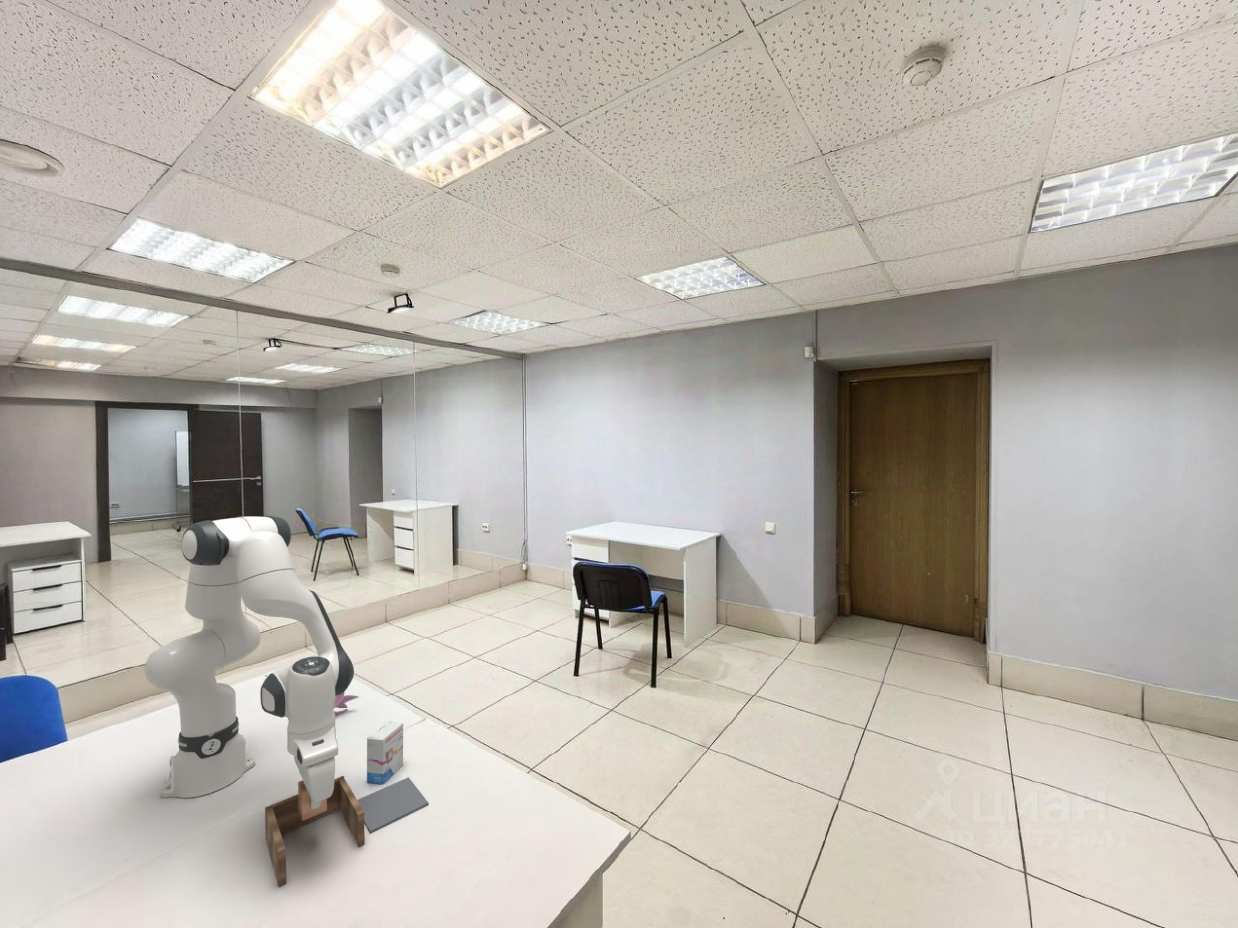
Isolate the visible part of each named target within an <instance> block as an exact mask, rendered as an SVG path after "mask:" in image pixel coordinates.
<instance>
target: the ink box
mask: <svg viewBox="0 0 1238 928" xmlns="http://www.w3.org/2000/svg"><path fill="white" fill-rule="evenodd" d="M403 766H404V723H403V722H398V721H393V720H387V721H385V723H383V724H382V725H380V726H379V727H378V728H377V729H375V730H373V731H372V732H371V733H369V734H368V737H367V738H366V783H372V784H378V785H385V783H386V782H387V781H388V780H389V779H390V778H391V777H392V776H394V774H396V772H397V771H398V770H400V768H401V767H403Z"/></svg>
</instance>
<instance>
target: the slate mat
mask: <svg viewBox="0 0 1238 928" xmlns="http://www.w3.org/2000/svg"><path fill="white" fill-rule="evenodd" d="M357 801H358V802H359V804H360V806H361V808H362V809H363V811H364V826H365V827H366V828H367V831H368V832H369V834H372V833H374V832H376V831H378V830H380V829H382V828H384V827H387V826H389V825H391V824H393V823H395V822H396V821H399V820H401V819H402V818H406V817H407V816H408V815H411V814H413V813H416V812H417V811H418V810H421V809H422V808H425V807H427V806H429V804H430V803H429V802H428V800H427V799H426V798H425V796H424V794H423V793H421V791H420V790H419V789H418V787H417V786H416V785H415V784H414V782H413V781H412V779H410V777H409V776H407V777H405V778H404V779H401V780H399V781H397V782H394V783H392V784H390V785H387V786H385V787H383V788H380V789H378V790H377V791H374V792H371V793H369V794H367V795H365V796H363V797H361V798H358V799H357Z"/></svg>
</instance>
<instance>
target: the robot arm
mask: <svg viewBox="0 0 1238 928" xmlns="http://www.w3.org/2000/svg"><path fill="white" fill-rule="evenodd" d="M291 541H292V530H291V527H290V525H289V523H288V522H287V520H285V519H284V518H282V517H279V516H274V515H272V516H271V515H265V516H255V515H253V516H237V517H230V518H223V519H222V518H221V519H215V520H210V519H209V520H208V519H207V520H202V521H199V522H195V523H192V524H190V525H189V526H188V527H187V528H186V529H185V530H184V532H183V534H182V537H181V552H182V555H183V557H184V559H185V560H186V561H187V562H189V564H190V567H189V568H190V569H189V573H188V578H187V587H186V595H185V605H184V607H185V608H184V609H185V611H186V612H187V613H188V614H189V616H191V617H193V618H194V619H195V618H196V619H198V620H202V629H201V630H200V631H199V632H196V633H192V634H190V635H187V636H184V637H181V638H178V639H175V640H172V641H171V642H169V643H167V644H165V645H163V646H162V647H159V648H157V649H156V650H154V651H153V652H152V653H150V654H149V656H148V657H147V659H146V662H145V665H144V675H145V678H146V679H147V681H148V683H150V684H151V685H153V686H154V687H155V688H158V689H161V690H165V691H167V692H169V693H170V694H172V695H173V697H174V699H176V702H177V705H178V708H179V710H178V711H179V720H180V731H179V734H178V739H177V743H178V751H177V752H176V754H175V755H172V756H171V757H170V758H169V767H171V771H170V773H169V775H168V778H167V780H166V781H165V784H164V786H163V788H162V790H161V794H160V797H161V798H171V797H177V798H184V799H188V798H189V799H190V798H195V797H201V796H205V795H209V794H211V793H214V792H216V791H219V790H221V789H223V788H226V787H227V786H229V785H230V784H232V783H233V782H235V781H237V780H238V779H240V777H241V776H243V774H245V772H246V771H248V770H250V769H251V768H252V767H254V766H255V765H256V759H255V758H254V757H253V756H252V755H250V754H249V753H248V752H247V751H248V750H247V739H246V737H245V736H244V735H243V734H240V733H239V730H240V728H239V727H240V722H239V717H238V716H237V703H236V702H237V700H236V691H235V689H234V688H233V687H232V686H230V685H229V684H228V683H221V682H217V678H216V672H217V671H219V670H221V669H224V668H226V667H227V666H228V667H229V666H231V665H232V664H235V663H237V662H240V661H241V660H243V659H244V658H246V657H247V656H249V655H250V654H252V653H253V652H255V650H256V649H258V647H259V646H260V643H261V631H260V628H259V627H258V626H257V624H255V622H253V621H252V620H250V619H247V618H246V616H245V615H244V612H243V609H242V608H243V607H242V601H243V604H244V606H245V608H247V609H249V610H250V611H252V612H253V613H254V614H258V615H261V616H265V617H273V618H283V619H289V620H290V619H291V620H295V621H297V622H300V623H301V624H302V625H304V627H305V628H306V630H307V632H308V634H309V637H310V639H311V642H312V643H313V646H314V648H315V650H316V652H317V655H318V656H308V657H304V658H301V659H298V660H297V661H295V662H294V663H292V664H291V665H289V666H286V667H284V668H280V669H277V670H276V671H273V672H271V673H270V674H269V675H267V676H266V678H265V679H264V681H263V682H262V684H261V687H260V691H259V693H260V694H259V695H260V707H261V709H262V711H263V712H265V713H267V714H269V715H272V716H275V717H279V718H287V720H288V722H287V723H288V724H287V727H286V728H287V729H286V731H287V732H286V733H287V735H286V738H287V740H286V742H287V745H286V747H287V753H288V754H290V755H291V756H293V759H294V763H295V765H296V767H297V769H298V771H299V774H300V777H301V779H302V780H303V782H304V784H305V786H306V789H307V791H308V793H309V796H310V806H311V808H312V809H315V808H318V807H320V806H321V801H322V800H325V799H327V798H329V797H331V795H332V793H333V790H334V779H336V778H335V777H336V774H335V773H336V758H335V757H336V756H338V755H339V746H338V741H337V738H336V737H337V731H336V730H337V729H336V712H335V710H333V704H334V701H335V696H337V695H341V694H343V693H344V694H345V692H346V691H347V689H348V687H350V685H351V683H352V681H353V679H354V676H355V669H354V665H353V662H352V660H351V658H350V656H349V655H348V653H347V652H346V651H345V649H344V646H342V643H341V641H340V640H339V637H338V635H337V633H336V631H335V628H334V626H333V623H332V621H331V620H330V617H329V615H328V612H327V611H326V609H325V607H324V604H323V603H322V601H321V599H320V597H319V595H318V594H317V593H316V592H315V591H314V590H310V589H308V588H306V587H305V586H304V584H303V583H302V582H301V580H300V579H299V577H298V575H297V573H296V568H295V565H294V561H293V558H292V555H291V552H290V549H289V548H288V547H289V546H290V544H291Z"/></svg>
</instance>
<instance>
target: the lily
mask: <svg viewBox="0 0 1238 928" xmlns="http://www.w3.org/2000/svg"><path fill="white" fill-rule="evenodd" d="M358 698H359V696H358V695H354V694H353V695H352V694H350V695H349V694H348V695H347V694H346V695H345V692H344V693H343V694H341V695H337V696H335V701H334V704H333V710H334V709H335V708H336V709H337V708H338V709H341V708H348V705H347V703H348V702H350V701H353V700H355V699H358ZM334 711H335V710H334Z"/></svg>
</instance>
